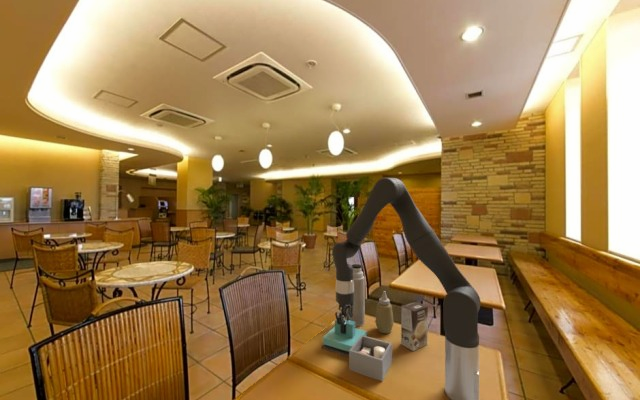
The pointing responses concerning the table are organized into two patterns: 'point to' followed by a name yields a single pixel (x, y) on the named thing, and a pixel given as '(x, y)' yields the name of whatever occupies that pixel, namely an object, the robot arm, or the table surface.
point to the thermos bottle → (358, 296)
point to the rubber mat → (336, 350)
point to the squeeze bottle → (384, 315)
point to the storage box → (370, 357)
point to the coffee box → (414, 325)
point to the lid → (343, 336)
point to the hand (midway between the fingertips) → (345, 331)
